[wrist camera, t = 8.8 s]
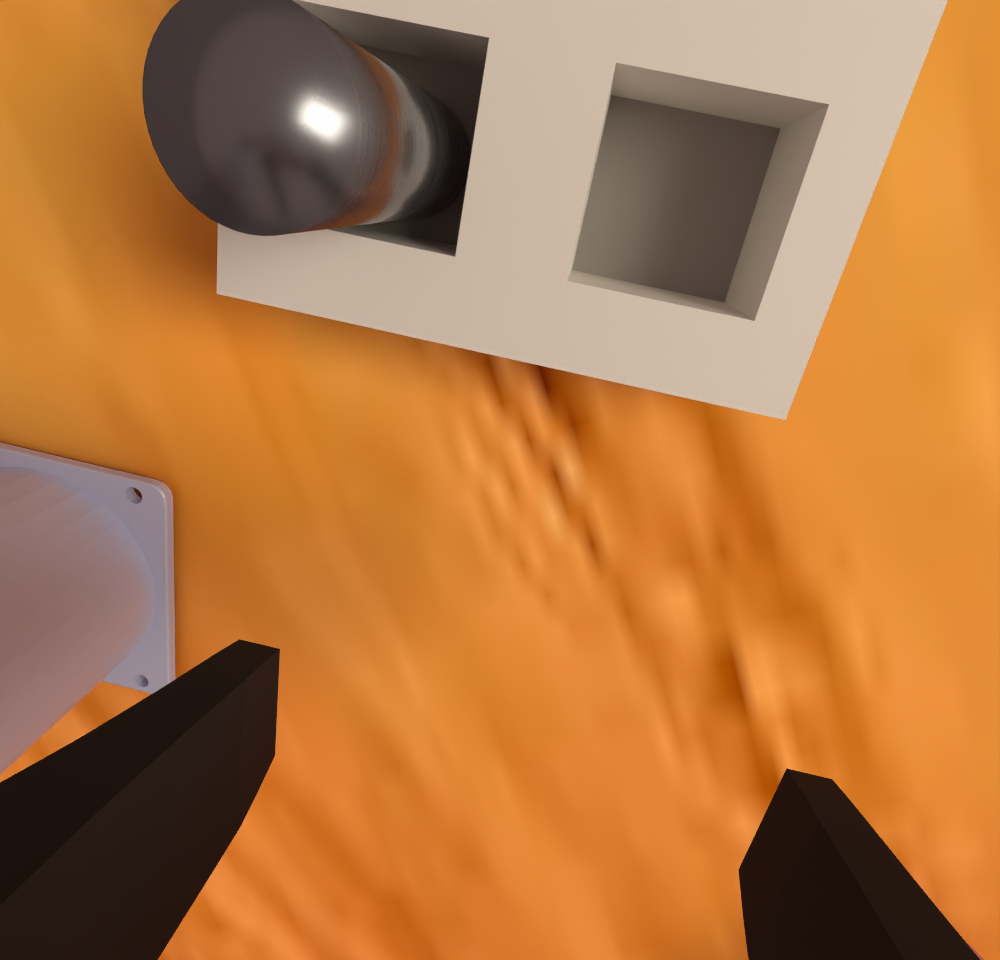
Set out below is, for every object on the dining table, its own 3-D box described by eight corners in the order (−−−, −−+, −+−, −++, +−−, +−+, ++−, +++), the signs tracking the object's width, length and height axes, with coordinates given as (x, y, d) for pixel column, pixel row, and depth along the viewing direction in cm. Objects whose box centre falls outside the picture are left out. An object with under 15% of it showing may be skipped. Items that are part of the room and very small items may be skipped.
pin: (365, 214, 15) (163, 231, 8) (359, 92, 14) (122, -20, 7) (469, 219, 15) (362, 240, 8) (471, 95, 14) (351, -18, 7)
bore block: (746, 379, 16) (785, 420, 13) (290, 279, 16) (216, 293, 13) (861, 50, 13) (950, -6, 10) (309, -56, 14) (223, -140, 10)
